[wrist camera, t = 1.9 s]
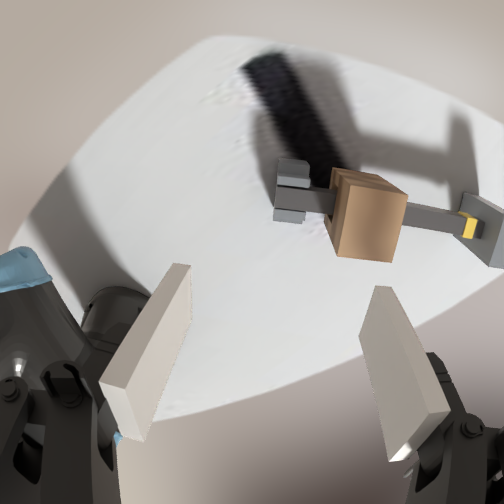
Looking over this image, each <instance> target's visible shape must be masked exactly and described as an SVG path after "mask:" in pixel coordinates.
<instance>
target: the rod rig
mask: <svg viewBox="0 0 504 504" xmlns="http://www.w3.org/2000/svg"><path fill="white" fill-rule="evenodd" d="M309 170H310V166H309V164H308V162H307V161H304V160H296V159H288V158H279V164H278V174H277V183H276V192H275V202H274V211H273V221H279V222H288V223H296V224H302V221H305V215H306V211H308V212H316V213H323V214H331V215H333V213H334V208H335V202H336V196H337V190H332V189H325V188H318V187H310V178H309ZM402 225H406V226H412V227H418V228H423V229H429V230H435V231H441V232H446V233H452V234H453V236H454V237H455V238H457V239H458V240H459V241H460V242H461V243H462V244H464V245H465V246H466V247H467V248H468V249H469V250H470V251H472V252H473V253H474V254H475V255H476V256H477V257H478V258H479V259H480V260H482V261H483V262H484V263H485V264H486V265H487V266H488V267H494V268H501V269H504V209H502V208H500V207H499V206H497V205H495V204H493V203H491V202H490V201H488V200H486V199H484V198H482V197H480V196H477V195H473V194H470V193H466V192H464V195H463V199H462V203H461V207H460V211H458V212H453V211H449V210H444V209H440V208H435V207H430V206H425V205H420V204H415V203H410V202H407V204H406V209H405V213H404V217H403V221H402Z"/></svg>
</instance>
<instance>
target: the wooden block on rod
mask: <svg viewBox="0 0 504 504" xmlns="http://www.w3.org/2000/svg"><path fill="white" fill-rule="evenodd" d="M329 189H332V190H337V196H336V202H335V208H334V213H333V215H331V214H325V217H324V224H325V226H326V229H327V231H328V234H329V236H330V239H331V242H332V244H333V247H334V250H335V252H336V255H337V257H346V258H355V259H363V260H372V261H380V262H389V263H392V260H393V256H394V252H395V249H396V245H397V241H398V237H399V234H400V230H401V226H402V221H403V217H404V213H405V209H406V204H407V199H408V195H407V194H406V193H404V192H403V191H401V190H400V189H398V188H397V187H395V186H394V185H392V184H391V183H389V182H388V181H386V180H385V179H383V178H382V177H380V176H378V175H376V174H370V173H365V172H359V171H353V170H347V169H341V168H334V167H332V173H331V179H330V186H329Z"/></svg>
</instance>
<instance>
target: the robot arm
mask: <svg viewBox="0 0 504 504" xmlns="http://www.w3.org/2000/svg"><path fill="white" fill-rule="evenodd" d="M52 279H53V278H52V276H51V275H49V274H48V273H47V271H46V270H45V268H44V266H43V265H42V263H41V261H40V259H39V258H38V256H37V254H36V253H35V252H34V251H33V250H32V249H31V248H29V247H25V246H20V247H17V248H15V249H13V250H11V251H9V252H7V253H4V254H2V255H0V504H121V498H120V489H119V479H118V470H117V469H118V468H117V455H116V447H117V445H118V443H119V441H120V440H121V439H122V438H123V436H124V437H128V438H131V439H134V440H138V441H141V442H144V441H145V438H146V436H147V433H148V430H149V428H150V425H151V422H152V420H153V417H154V415H155V412H156V409H157V407H158V404H159V401H160V399H161V396H162V394H163V391H164V388H165V386H166V383H167V381H168V378H169V376H170V373H171V371H172V368H173V365H174V363H175V360H176V358H177V355H178V353H179V350H180V348H181V345H182V343H183V340H184V338H185V335H186V333H187V331H188V328H189V326H190V323H191V321H192V293H191V265H185V264H177V263H173V264H172V266H171V267H170V269H169V270H168V272H167V273H166V275H165V276H164V278H163V279H162V281H161V282H160V284H159V285H158V287H157V288H156V290H155V291H154V293H153V294H152V296H151V297H150V299H149V298H148V297H146V296H145V295H143V294H141V293H139V292H137V291H134V290H131V289H128V288H124V287H109V288H105V289H103V290H101V291H99V292H98V293H97V294H96V295H95V296H94V297H93V298H92V299H91V301H90V302H89V303H88V305H87V307H86V309H85V312H84V315H83V319H82V322H81V325H80V326H79V325H78V323H77V322H76V320H75V319H74V317H73V315H72V314H71V312H70V311H69V309H68V308H67V306H66V304H65V303H64V301H63V300H62V298H61V296H60V295H59V293H58V291H57V289H56V288H55V286H54V284H53V282H52ZM359 340H360V343H361V347H362V350H363V354H364V357H365V361H366V365H367V368H368V372H369V376H370V380H371V384H372V388H373V392H374V396H375V400H376V404H377V408H378V413H379V417H380V421H381V426H382V431H383V435H384V440H385V445H386V450H387V455H388V460H389V462H390V461H398V460H405V459H409V458H410V457H411V456H412V455H413V454H414V453H415V452H416V451H418V455H419V460H418V461H417V462H416V463H415V464H414V465H413V466H412V467H410V468H409V469H408V470H407V471H406V472H405V475H404V478H406V477H407V476H409V475H410V474H411V473H412V472H413V473H412V476H411V477H410V479H411V483H410V487H409V492H408V495H407V500H406V504H504V426H503V427H502V428H501V429H498V428H489V427H485V425H484V424H483V422H482V420H481V419H479V418H478V417H477V416H475V415H473V414H470V413H466V411H465V408H464V406H463V404H462V402H461V399H460V397H459V395H458V393H457V390H456V388H455V386H454V384H453V383H452V380H451V378H450V375H449V374H448V371H447V370H446V367H445V366H444V363H443V361H441V359H440V358H439V357H437V355H436V354H435V353H434V352H431V353H425V351H424V349H423V347H422V344H421V342H420V341H419V338H418V336H417V334H416V332H415V330H414V328H413V326H412V325H411V323H410V321H409V319H408V317H407V315H406V313H405V311H404V309H403V307H402V305H401V304H400V302H399V300H398V298H397V296H396V294H395V293H394V291H393V289H392V287H386V286H375V288H374V292H373V295H372V298H371V301H370V304H369V307H368V310H367V313H366V316H365V319H364V322H363V325H362V328H361V331H360V333H359ZM501 470H502V474H503V477H502V478H500V479H499V480H497V479H496V476H495V475H496V474H497V473H498V472H500V471H501Z"/></svg>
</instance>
